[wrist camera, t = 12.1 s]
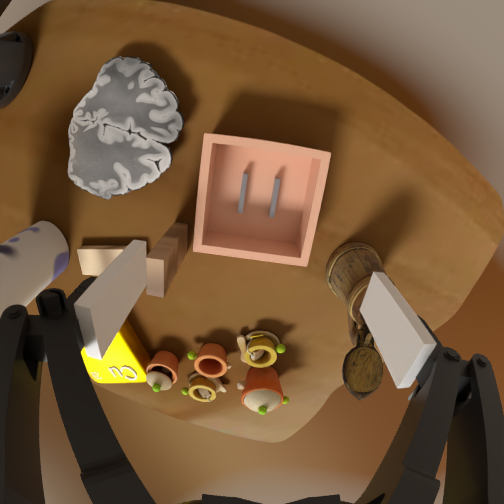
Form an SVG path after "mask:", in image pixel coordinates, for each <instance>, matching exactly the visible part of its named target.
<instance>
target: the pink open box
mask: <svg viewBox="0 0 504 504" xmlns="http://www.w3.org/2000/svg"><path fill="white" fill-rule="evenodd" d="M330 157H331V153H330V152H326V151H323V150H319V149H314V148H309V147H304V146H298V145H293V144H287V143H282V142H275V141H269V140H263V139H256V138H249V137H241V136H233V135H224V134H215V133H204V140H203V148H202V157H201V165H200V175H199V184H198V194H197V205H196V217H195V229H194V243H193V251H195V252H202V253H209V254H216V255H224V256H231V257H238V258H246V259H253V260H261V261H268V262H276V263H283V264H291V265H298V266H306V267H307V264H308V260H309V255H310V251H311V247H312V243H313V238H314V234H315V230H316V225H317V221H318V216H319V212H320V207H321V202H322V197H323V193H324V188H325V183H326V178H327V173H328V167H329V162H330Z"/></svg>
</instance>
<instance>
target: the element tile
mask: <svg viewBox="0 0 504 504" xmlns="http://www.w3.org/2000/svg"><path fill="white" fill-rule="evenodd" d="M81 354H82V357H83V360H84V363H85V366H86V369H87V372H88V374H89V375H90V377H91V378H92V379H93V380H94V381H95V382H98V383H141V382H146V381H147V380H146V375H147V367H148V365H149V364H150V362H151V361H152V360H151V358H150V357H149V355H148V353H147V352H146V350H145V348H144V347H143V345H142V343H141V342H140V340H139V338H138V336H137V335H136V333H135V331H134V329H133V328H132V326H131V324H130V322H129V321H128V319H127V318H126V319H125V321H124V323H123V324H122V326H121V328H120V330H119V331H118V333H117V335H116V336H115V338H114V340H113V342H112V344H111V345H110V347H109V349H108V351H107V352H106V354H105V356H104V358H103V360H99V359H96V358H92V357H89V356H87V354H86V350H85V347H84V348H83V349H82V351H81Z"/></svg>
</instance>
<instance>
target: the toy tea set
mask: <svg viewBox="0 0 504 504" xmlns="http://www.w3.org/2000/svg"><path fill="white" fill-rule="evenodd" d="M237 342H238V345H239V347H240V349H241V352H242V353H241V360H242V361H243V362H245V363H246V362H247V363H248V364H249V365H251V366H253V368H251V369H250V370H249V371H248V373H247V376H246V380H245V381H244V382H243V381H240V382H238V384H237V387H238V389H241V390H243V392H242V396H241V401H242V403H243V405H244V406H245V407H247V408H248V409H251V410H253V411H256V412H259V413H260V414H262V415H263V414H266V412H268V411H271V410H274V409H276V408H278V407H279V406H280V405H281V404H282V403H283V404H287V403H288V402H289V398H288V397H287V396H283V392H282V389H281V385H280V381H279V378H278V374H277V372H276V370H275V369H274V368H272V367H270V365H272V364H273V363H274V362H275V361H276V359H277V352H278V353H283V352H284V351H285V346H284V345H283V344H280V342H279V339H278V338H277V337H276V336H275V335H274V334H272V333H270V332H267V331H254V332H251V333H249V334H247V335H246V336H244V335H238V336H237ZM188 358H189V359H196V360H195V363H194V366H195V369H196V370H197V372H196V373H194V374H192V375H191V376H190V377H189V380H188V382H189V385H190V388H189V389H188V388H186V387H184V388H182V393H183V394H184V395H187V394H189V395H190V396H191V397H192V398H193V399H195V400H198V401H203V402H208V401H209V402H211V401H212V400H214V399H215V398H216V393H217V392H218V391H222V392H226V390H227V388H226V387H225V386H224V385H223V384H222V382H221V380H220V379H219V378H218V377H220V376H222V375H224V374H225V373H226V371H227V368H228V369H230V368H231V366H232V364H230V363H228V362H227V359H226V351H225V349H224V348H223V347H222V346H220V345H218V344H215V343H208V344H205V345H203V346H202V347H201V349H200V351H199V353H198V355H197V354H196V353H195V352H194V351H189V352H188ZM177 375H178V358H177V357H176V356H175V355H174V354H173V353H171V352H168V351H159V352H157V353H156V354H155V356H154V358H153V359H152V361H151V362H150V364H149V365H148V367H147V375H146V380H147V382H148V384H149V385H150V386H152V388H153V390H154V391H155V392H158V391H160V390H167V389H169V388H170V387H171V386H172V384H174V383H175V382H176V381H177Z"/></svg>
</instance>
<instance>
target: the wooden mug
mask: <svg viewBox="0 0 504 504" xmlns="http://www.w3.org/2000/svg"><path fill="white" fill-rule="evenodd" d="M373 271H374V272H382V273H385V274H386V272H385V271H384V269H383V267H382V262H381V260H380V258H379V256H378V253H377V252H376V251H375V250H374V249H373V248H372V247H371V246H369V245H368V244H365V243H362V242H352V243H347V244H345V245H343V246H341V247H339V248H338V249H337V250H335V251H334V252H333V253H332V255H331V256H330V258H329V260H328V263H327V266H326V271H325V274H326V281H327V283H328V286H329V287H330V289H331V290H332V291H333V292H334V293H335V295H336V296H338V297H339V298H340V299H341V300H342V301H343V303H344V304H345V305H346V307H347V311H348V323H349V334H350V338H351V341H352V343H353V346H354V348H353V349H351V350H350V351H349V352H348V353H347V355H346V357H345V359H344V363H343V370H342V374H343V380H344V384H345V385H346V387H347V389H348V390H349V391H350V393H351V394H352V395H353V396H355V397H356V398H357V399H358V400H362V399H363V398H366V397H367V396H369V395H370V394H371V393H373V392H374V391H375V390H376V389H377V388H378V386H379V385H380V383H381V380H382V376H383V363H382V360H381V357H380V355H379V353H378V352H377V350H376V349H375V347H374V338H373V336H372V334H371V332H370V330H369V328H368V326H367V324H366V322H365V320H364V318H363V316H362V314H361V312H360V307H361V305H362V302H363V299H364V297H365V294H366V291H367V288H368V286H369V283H370V280H371V277H372V274H373ZM386 276H387V274H386ZM387 277H388V276H387ZM388 278H389V280H390V281H391V282H392V283H393V285H394V282H393V281H392V280H391V278H390V277H388ZM394 286H395V285H394ZM358 324H359V325H361V327H360V329H359V330H358Z"/></svg>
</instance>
